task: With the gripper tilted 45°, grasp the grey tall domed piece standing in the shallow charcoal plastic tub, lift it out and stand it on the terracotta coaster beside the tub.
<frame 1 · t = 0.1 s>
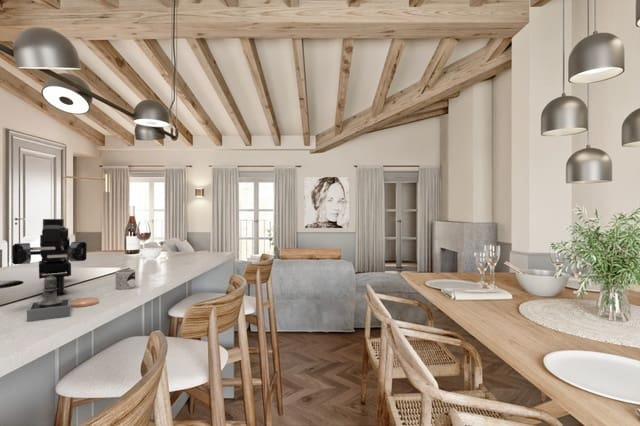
hand: (49, 255, 107), 17 cm above the table, tool horizontal, fingers open, 9 cm apart
grey tall domed piece: (50, 315, 104), resting in tub
coaster: (83, 303, 116), on the table
tub: (50, 314, 104), on the table
grey speckled block: (127, 287, 141), on the table
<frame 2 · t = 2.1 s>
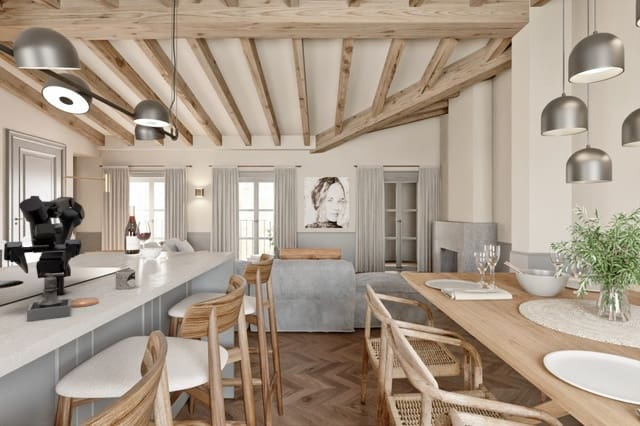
hand: (47, 270, 107), 12 cm above the table, tool tilted 45°, fingers open, 9 cm apart
nothing on the table moved.
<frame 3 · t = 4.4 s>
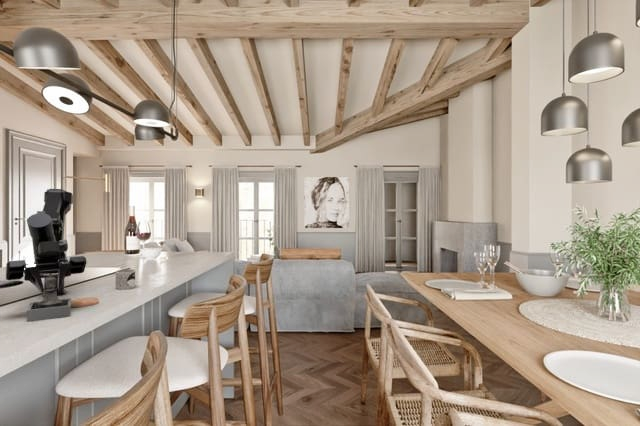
hand: (51, 290, 103), 7 cm above the table, tool tilted 45°, fingers closed on grey tall domed piece, 4 cm apart
grey tall domed piece: (50, 315, 104), resting in tub, touching gripper
everything else where it was.
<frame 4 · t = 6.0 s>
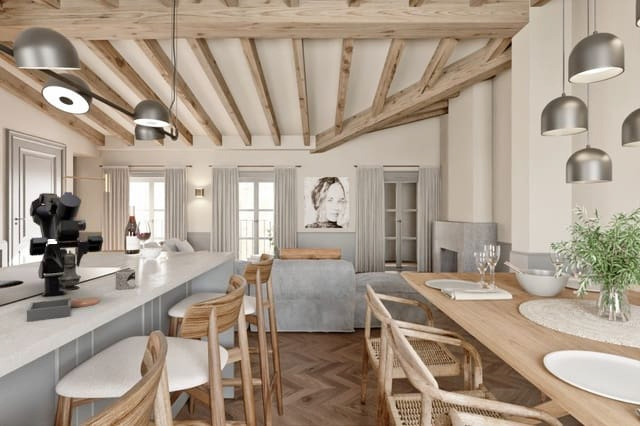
hand: (70, 266, 110), 13 cm above the table, tool tilted 45°, fingers closed on grey tall domed piece, 4 cm apart
grey tall domed piece: (69, 289, 111), point 6 cm above the table, touching gripper
everything else where it was.
when the fingers open (9 cm above the table, at t = 7.7 s): grey tall domed piece stays where it is, resting on coaster.
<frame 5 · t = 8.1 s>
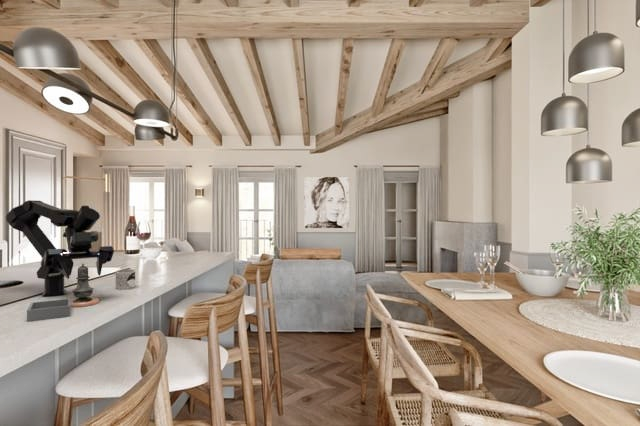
hand: (84, 276, 115), 9 cm above the table, tool tilted 45°, fingers open, 8 cm apart
grey tall domed piece: (82, 301, 116), point 1 cm above the table, touching coaster
everything else where it was.
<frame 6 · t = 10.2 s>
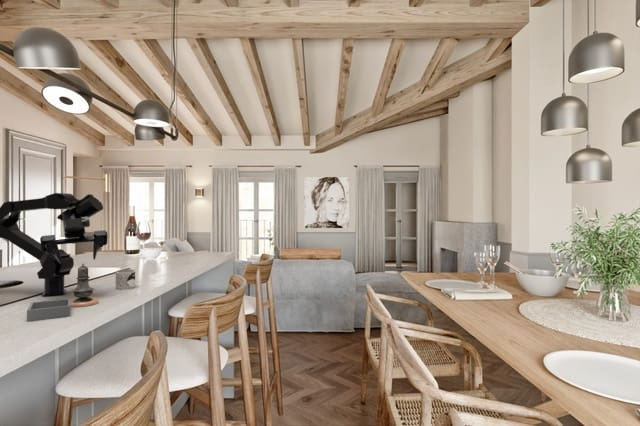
hand: (78, 261, 119), 13 cm above the table, tool tilted 40°, fingers open, 9 cm apart
nothing on the table moved.
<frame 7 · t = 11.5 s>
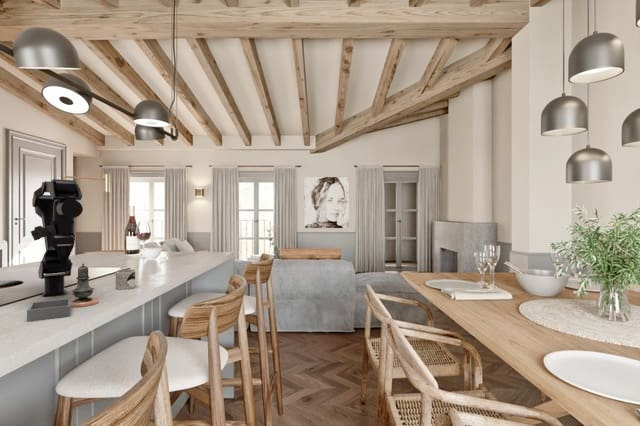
hand: (63, 264, 120), 12 cm above the table, tool pointing down, fingers open, 9 cm apart
nothing on the table moved.
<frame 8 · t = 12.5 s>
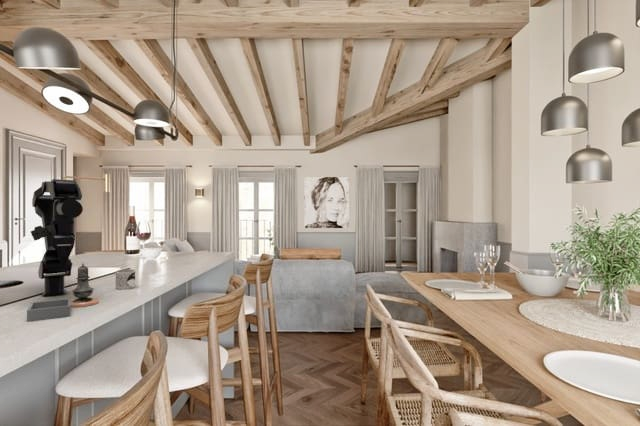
hand: (63, 264, 120), 12 cm above the table, tool pointing down, fingers open, 9 cm apart
nothing on the table moved.
at the end: grey tall domed piece 0.2 cm from the coaster (horizontally); grey tall domed piece tilted 0°; the gripper is holding nothing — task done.
